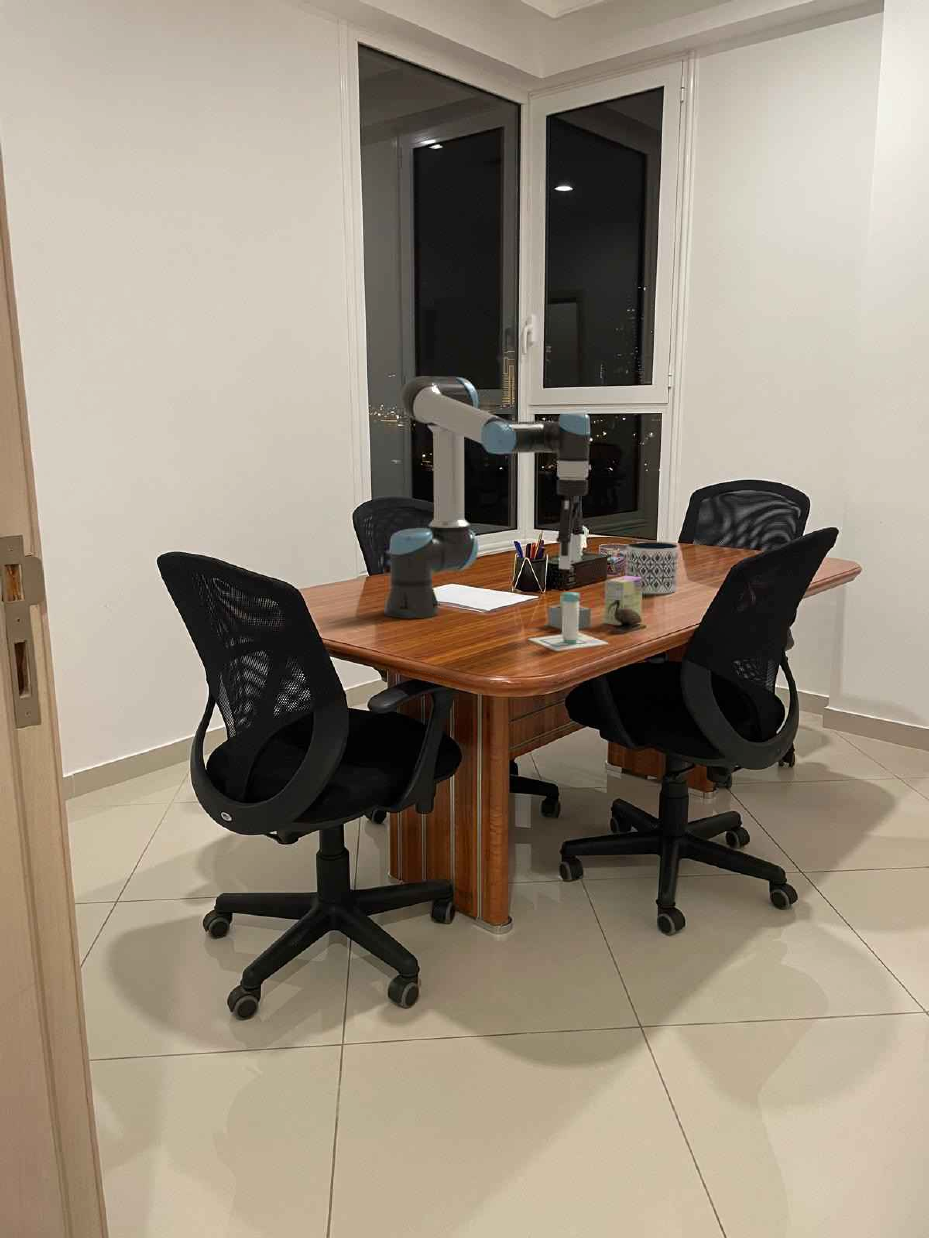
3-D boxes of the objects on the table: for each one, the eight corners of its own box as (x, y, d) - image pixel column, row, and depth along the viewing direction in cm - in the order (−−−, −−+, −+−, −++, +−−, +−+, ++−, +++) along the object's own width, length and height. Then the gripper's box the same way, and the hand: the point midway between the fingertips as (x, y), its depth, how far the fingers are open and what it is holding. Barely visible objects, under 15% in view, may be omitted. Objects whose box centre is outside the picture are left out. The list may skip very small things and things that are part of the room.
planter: (677, 595, 294) (679, 549, 291) (625, 594, 297) (626, 548, 294) (674, 586, 309) (676, 542, 306) (624, 585, 312) (626, 541, 309)
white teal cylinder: (567, 644, 230) (568, 595, 227) (558, 641, 234) (558, 593, 231) (582, 642, 232) (583, 594, 229) (572, 639, 235) (573, 591, 233)
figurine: (614, 637, 241) (615, 603, 239) (600, 634, 244) (600, 601, 242) (646, 628, 250) (647, 595, 249) (632, 625, 253) (633, 593, 252)
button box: (564, 630, 247) (564, 611, 246) (547, 624, 254) (548, 606, 252) (590, 627, 250) (590, 608, 249) (572, 621, 257) (573, 603, 256)
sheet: (556, 651, 225) (556, 649, 225) (528, 639, 237) (528, 638, 237) (609, 644, 232) (609, 642, 232) (578, 633, 243) (579, 632, 243)
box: (623, 617, 263) (624, 575, 261) (641, 620, 259) (643, 577, 257) (603, 623, 255) (604, 580, 253) (622, 626, 252) (623, 582, 249)
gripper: (578, 482, 220) (575, 573, 225) (596, 475, 243) (593, 557, 248) (546, 481, 222) (544, 571, 227) (567, 474, 245) (564, 556, 250)
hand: (569, 564), depth 237 cm, fingers open, 13 cm apart
